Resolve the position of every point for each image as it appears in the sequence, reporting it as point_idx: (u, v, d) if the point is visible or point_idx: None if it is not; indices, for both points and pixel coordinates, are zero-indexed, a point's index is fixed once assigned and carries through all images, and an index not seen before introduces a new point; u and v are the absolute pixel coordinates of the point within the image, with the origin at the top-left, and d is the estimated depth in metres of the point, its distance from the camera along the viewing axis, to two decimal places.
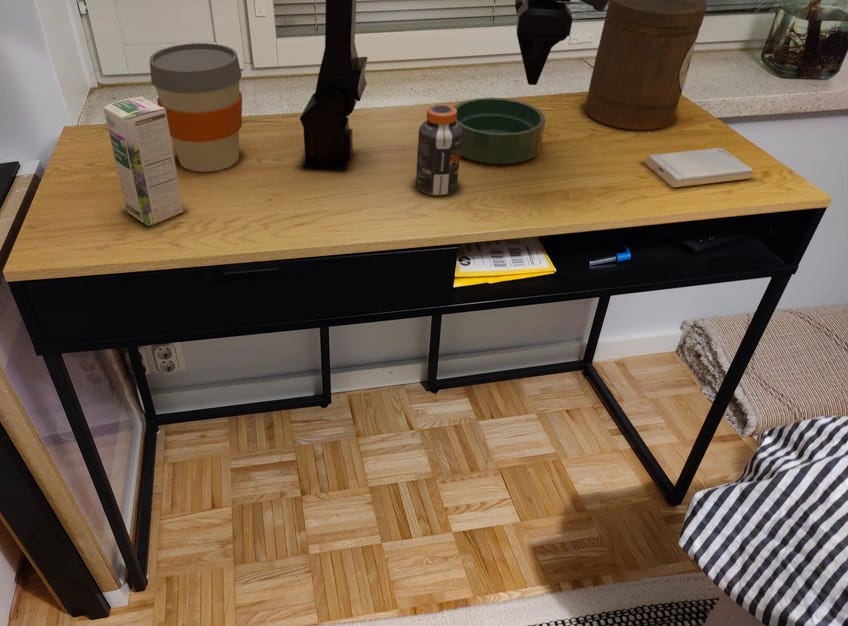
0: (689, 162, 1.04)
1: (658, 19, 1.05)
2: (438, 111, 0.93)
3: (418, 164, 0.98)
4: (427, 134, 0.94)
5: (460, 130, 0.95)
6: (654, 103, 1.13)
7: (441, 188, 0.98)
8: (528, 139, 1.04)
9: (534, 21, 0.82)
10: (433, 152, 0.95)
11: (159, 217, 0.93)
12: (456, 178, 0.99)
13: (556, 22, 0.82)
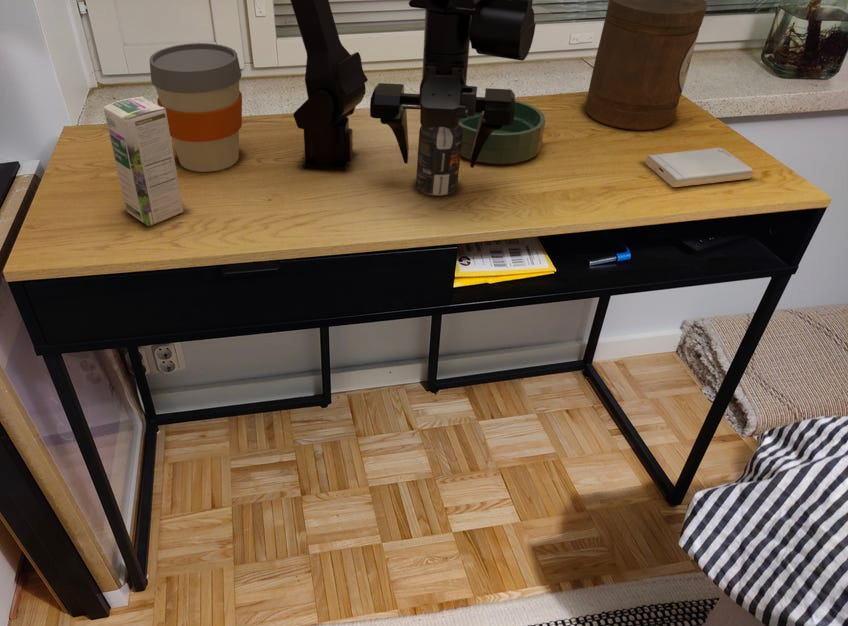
0: (689, 162, 1.04)
1: (658, 19, 1.05)
2: None
3: (418, 164, 0.98)
4: (428, 134, 0.94)
5: (461, 130, 0.95)
6: (654, 103, 1.13)
7: (441, 188, 0.98)
8: (528, 139, 1.04)
9: None
10: (433, 152, 0.95)
11: (159, 217, 0.93)
12: (456, 178, 0.99)
13: None
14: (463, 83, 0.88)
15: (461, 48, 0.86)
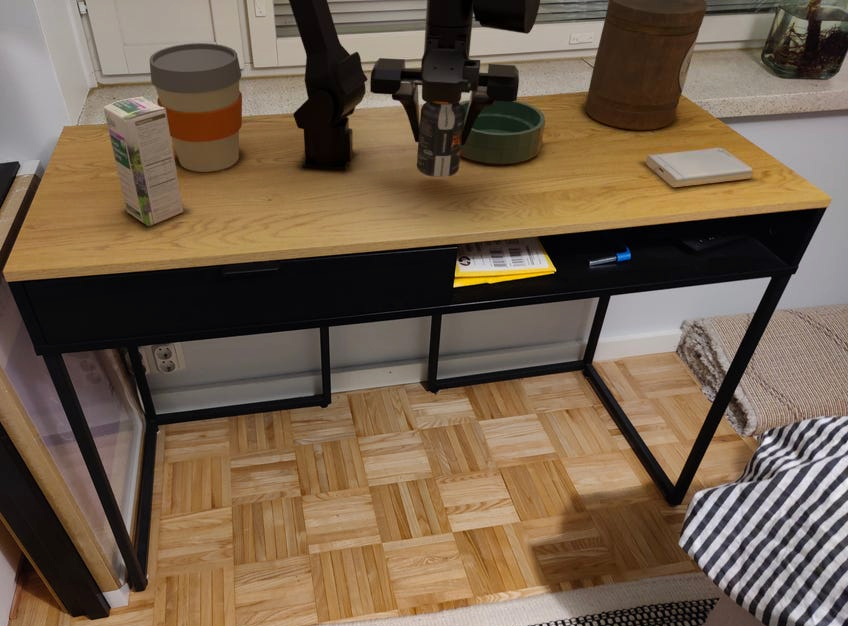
0: (689, 162, 1.04)
1: (658, 19, 1.05)
2: None
3: (419, 145, 0.96)
4: (430, 114, 0.92)
5: (463, 111, 0.93)
6: (654, 103, 1.13)
7: (443, 170, 0.96)
8: (528, 139, 1.04)
9: None
10: (435, 132, 0.93)
11: (159, 217, 0.93)
12: (458, 160, 0.97)
13: None
14: (466, 57, 0.86)
15: (464, 21, 0.84)
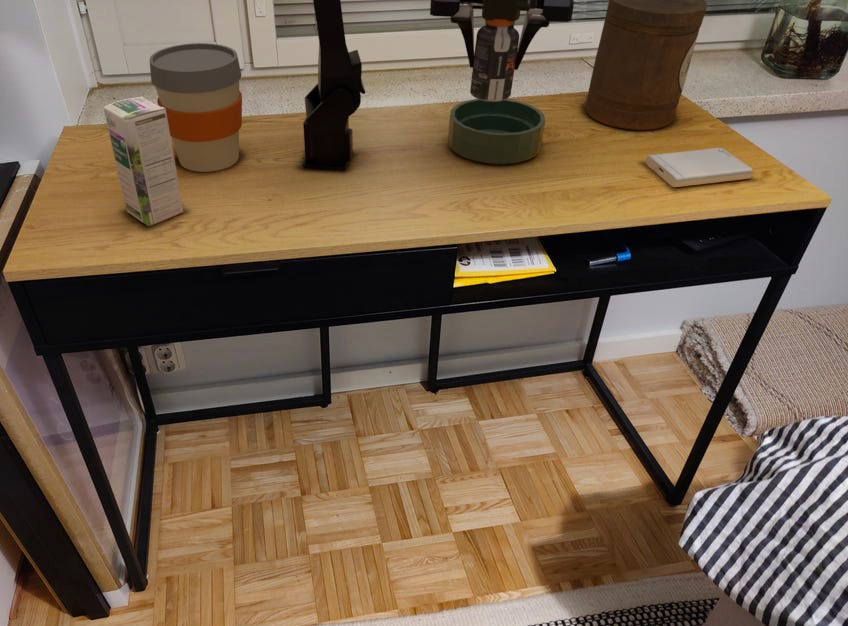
0: (689, 162, 1.04)
1: (658, 19, 1.05)
2: None
3: (474, 69, 1.00)
4: (486, 37, 0.96)
5: (518, 34, 0.97)
6: (654, 103, 1.13)
7: (497, 93, 1.00)
8: (528, 139, 1.04)
9: None
10: (490, 55, 0.97)
11: (159, 217, 0.93)
12: (511, 85, 1.01)
13: None
14: None
15: None
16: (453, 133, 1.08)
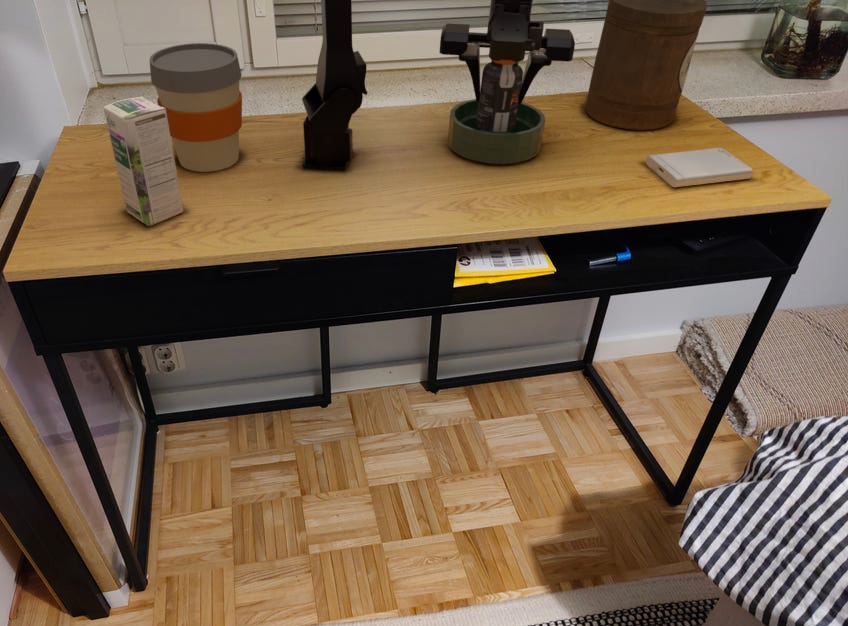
0: (689, 162, 1.04)
1: (658, 19, 1.05)
2: None
3: (480, 103, 1.06)
4: (492, 74, 1.02)
5: (521, 71, 1.03)
6: (654, 103, 1.13)
7: (501, 126, 1.06)
8: (528, 139, 1.04)
9: None
10: (496, 91, 1.03)
11: (159, 217, 0.93)
12: (514, 117, 1.07)
13: None
14: (529, 20, 0.96)
15: None
16: (453, 133, 1.08)
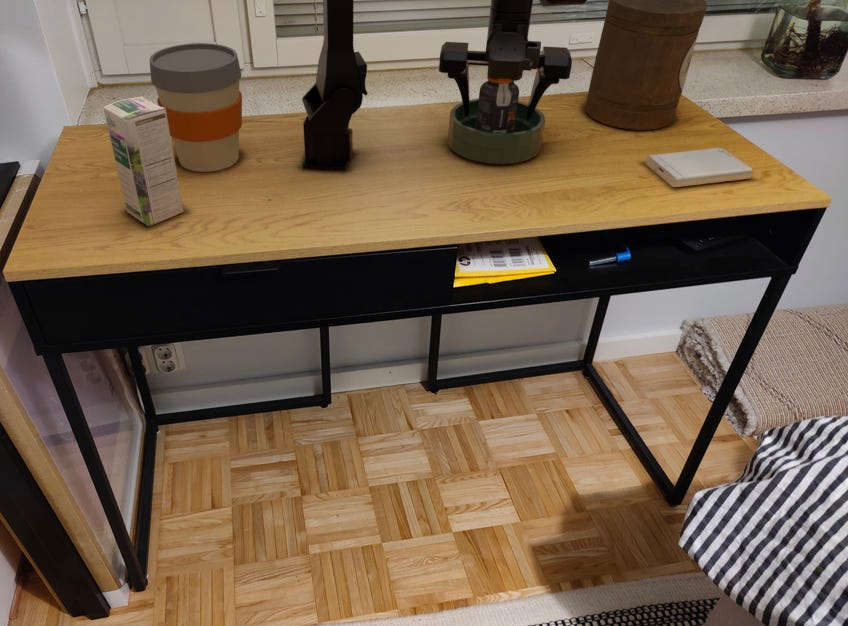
0: (689, 162, 1.04)
1: (658, 19, 1.05)
2: None
3: (478, 121, 1.08)
4: (489, 93, 1.04)
5: (518, 89, 1.05)
6: (654, 103, 1.13)
7: None
8: (528, 139, 1.04)
9: None
10: (493, 109, 1.05)
11: (159, 217, 0.93)
12: None
13: None
14: (526, 40, 0.98)
15: (532, 4, 0.97)
16: (453, 133, 1.08)
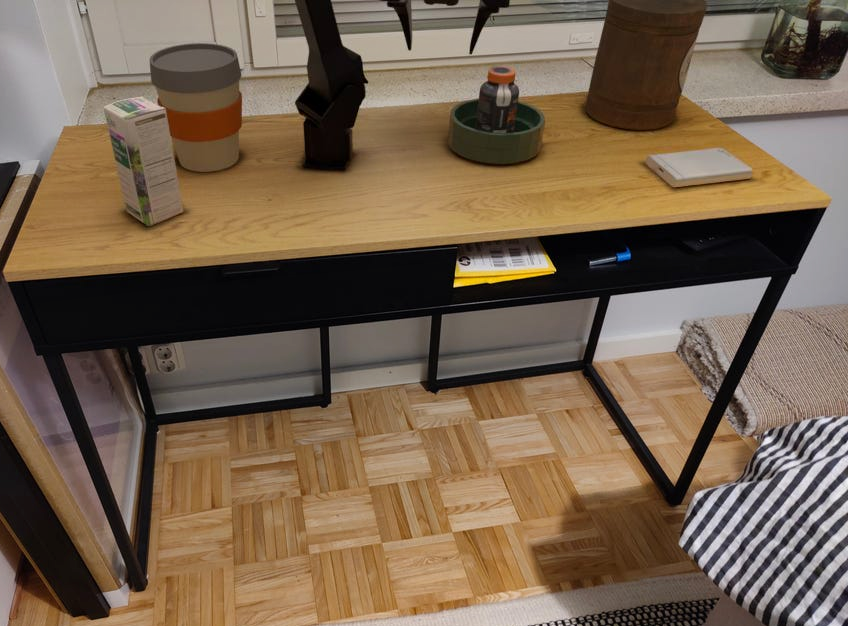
0: (689, 162, 1.04)
1: (658, 19, 1.05)
2: (499, 72, 1.03)
3: (478, 121, 1.08)
4: (489, 93, 1.04)
5: (518, 89, 1.05)
6: (654, 103, 1.13)
7: None
8: (528, 139, 1.04)
9: None
10: (493, 109, 1.05)
11: (159, 217, 0.93)
12: None
13: None
14: None
15: None
16: (453, 133, 1.08)
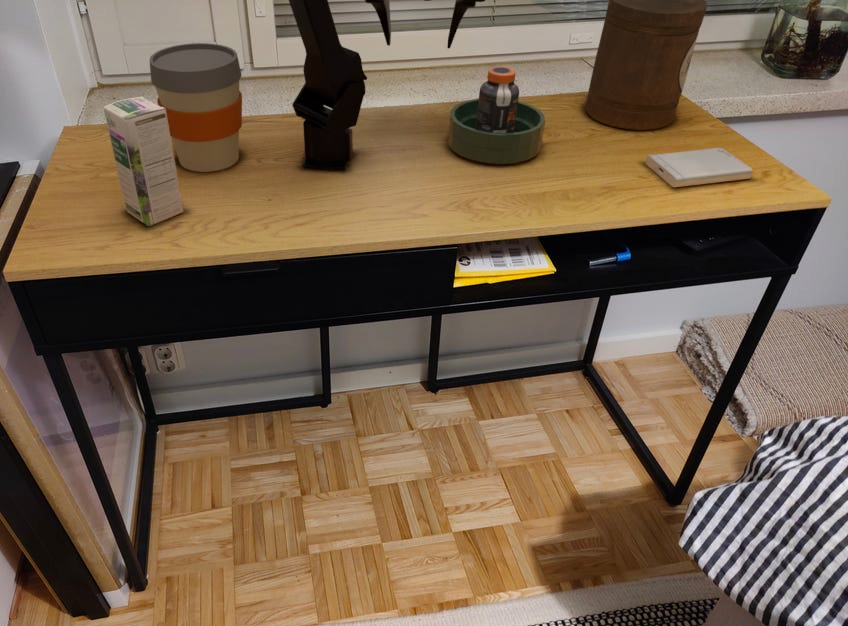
0: (689, 162, 1.04)
1: (658, 19, 1.05)
2: (499, 72, 1.03)
3: (478, 121, 1.08)
4: (489, 93, 1.04)
5: (518, 89, 1.05)
6: (654, 103, 1.13)
7: None
8: (528, 139, 1.04)
9: None
10: (493, 109, 1.05)
11: (159, 217, 0.93)
12: None
13: None
14: None
15: None
16: (453, 133, 1.08)
